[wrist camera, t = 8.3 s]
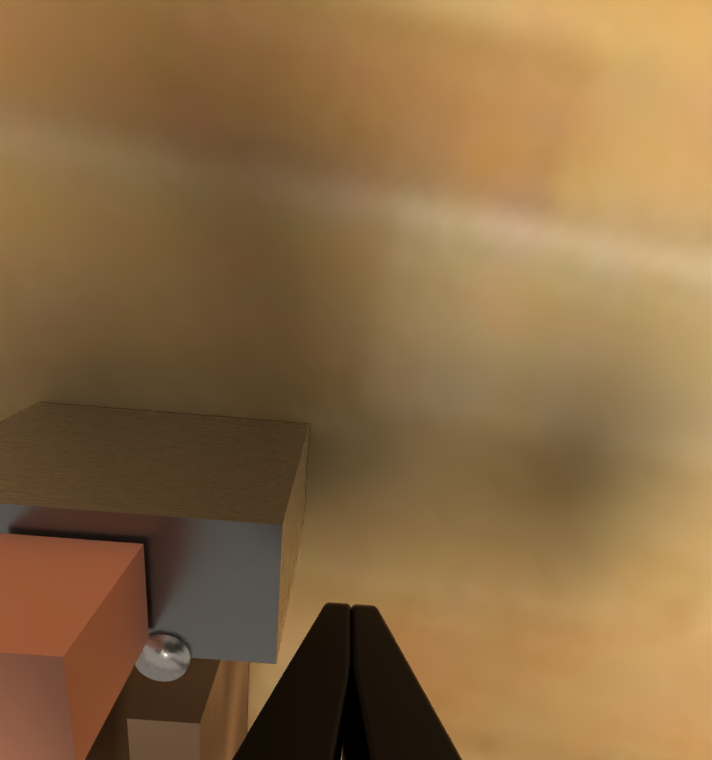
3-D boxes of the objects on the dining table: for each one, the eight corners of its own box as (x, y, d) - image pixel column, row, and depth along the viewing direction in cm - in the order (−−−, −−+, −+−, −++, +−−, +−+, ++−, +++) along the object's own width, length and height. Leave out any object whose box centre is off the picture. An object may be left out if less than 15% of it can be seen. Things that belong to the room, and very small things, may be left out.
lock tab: (143, 544, 8) (63, 657, 6) (148, 638, 8) (76, 772, 6) (-1, 533, 8) (-136, 642, 6) (14, 629, 8) (-104, 761, 6)
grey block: (309, 423, 12) (281, 528, 8) (302, 538, 13) (274, 689, 9) (39, 402, 12) (-149, 495, 7) (53, 519, 13) (-105, 663, 8)
